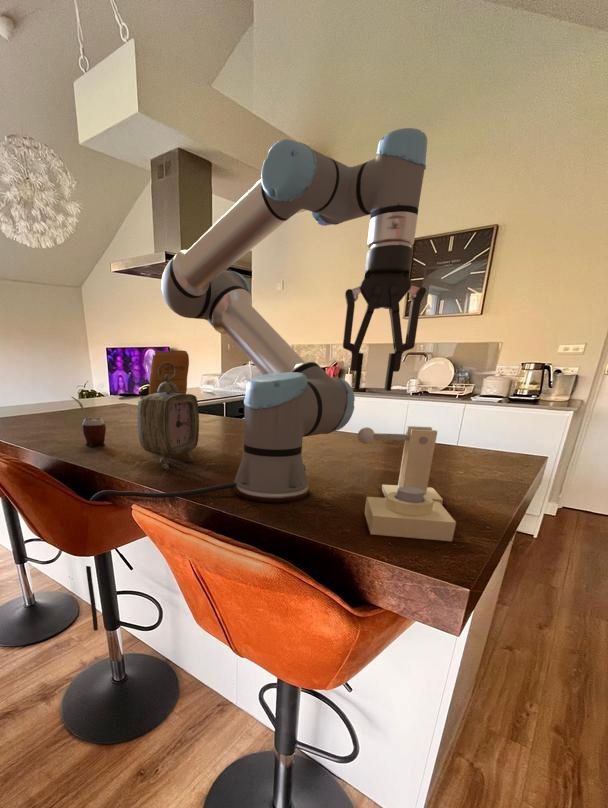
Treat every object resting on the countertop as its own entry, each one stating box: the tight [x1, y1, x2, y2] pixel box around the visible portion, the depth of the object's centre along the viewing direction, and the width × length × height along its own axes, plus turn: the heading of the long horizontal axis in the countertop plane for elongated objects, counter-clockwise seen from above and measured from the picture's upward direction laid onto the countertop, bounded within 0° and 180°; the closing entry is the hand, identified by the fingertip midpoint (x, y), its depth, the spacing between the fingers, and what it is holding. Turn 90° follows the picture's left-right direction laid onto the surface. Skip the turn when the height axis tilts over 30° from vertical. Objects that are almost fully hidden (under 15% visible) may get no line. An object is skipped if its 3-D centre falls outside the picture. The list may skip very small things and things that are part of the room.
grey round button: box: [396, 487, 424, 503], centre depth 68 cm, size 4×4×2 cm
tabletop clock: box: [136, 362, 200, 471], centre depth 104 cm, size 14×9×25 cm, turn 150°
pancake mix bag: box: [148, 349, 190, 395], centre depth 125 cm, size 7×19×28 cm, turn 148°
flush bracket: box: [381, 425, 444, 506], centre depth 83 cm, size 10×8×14 cm
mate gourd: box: [71, 396, 107, 448], centre depth 129 cm, size 8×8×15 cm
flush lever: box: [357, 426, 410, 445], centre depth 82 cm, size 13×3×3 cm, turn 78°
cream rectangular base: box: [364, 492, 457, 542], centre depth 69 cm, size 12×10×5 cm
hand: (371, 389), depth 80 cm, fingers open, 5 cm apart
